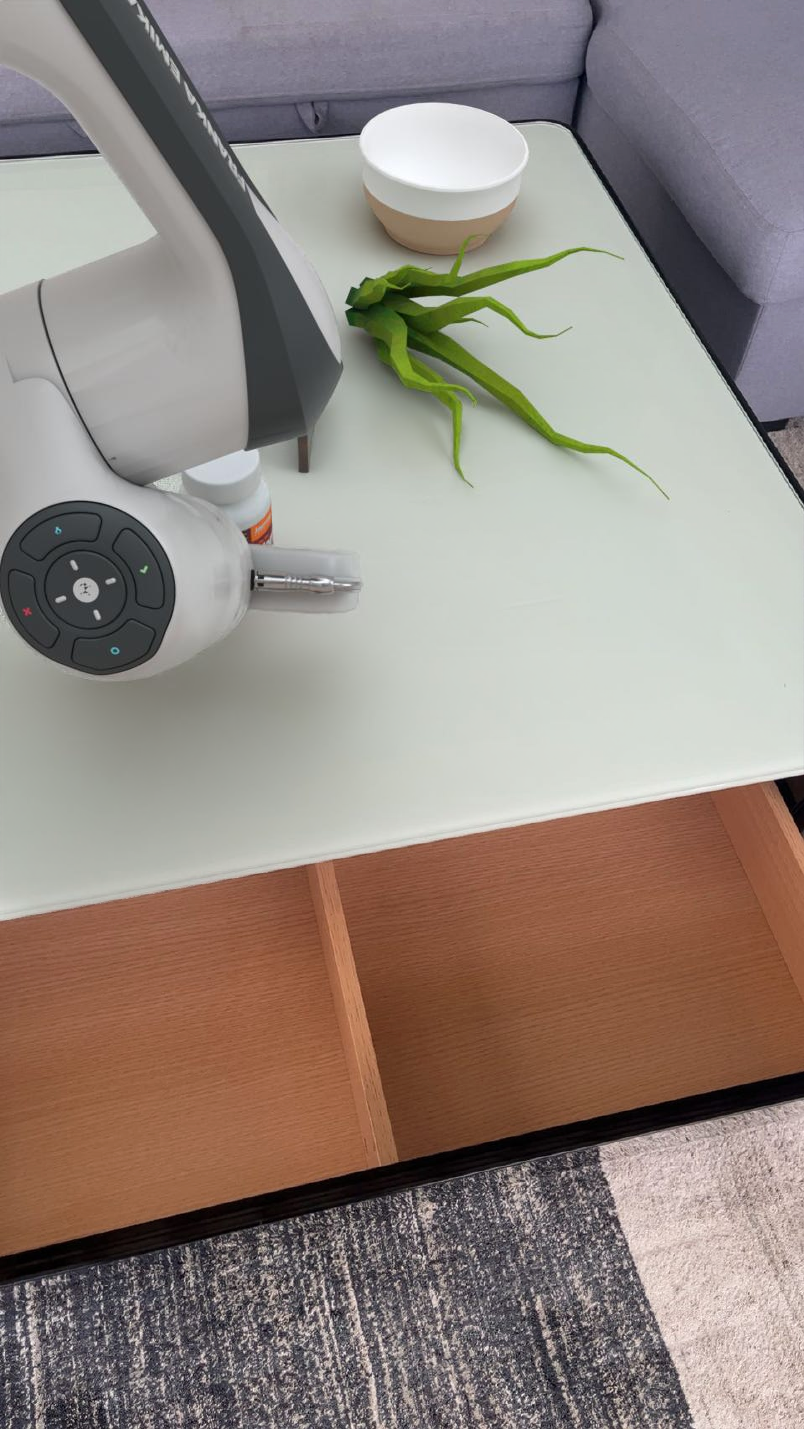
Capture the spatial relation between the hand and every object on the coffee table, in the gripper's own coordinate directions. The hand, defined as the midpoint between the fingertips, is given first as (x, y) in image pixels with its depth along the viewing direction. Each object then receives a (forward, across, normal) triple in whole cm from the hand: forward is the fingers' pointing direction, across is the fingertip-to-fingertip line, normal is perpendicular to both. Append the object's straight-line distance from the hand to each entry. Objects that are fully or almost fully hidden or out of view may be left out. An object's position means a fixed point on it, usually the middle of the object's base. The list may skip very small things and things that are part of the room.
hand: (213, 567), depth 71 cm
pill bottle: (+6, 0, +1) cm, 6 cm away
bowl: (+40, -14, -34) cm, 54 cm away
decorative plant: (+21, -20, -14) cm, 32 cm away
